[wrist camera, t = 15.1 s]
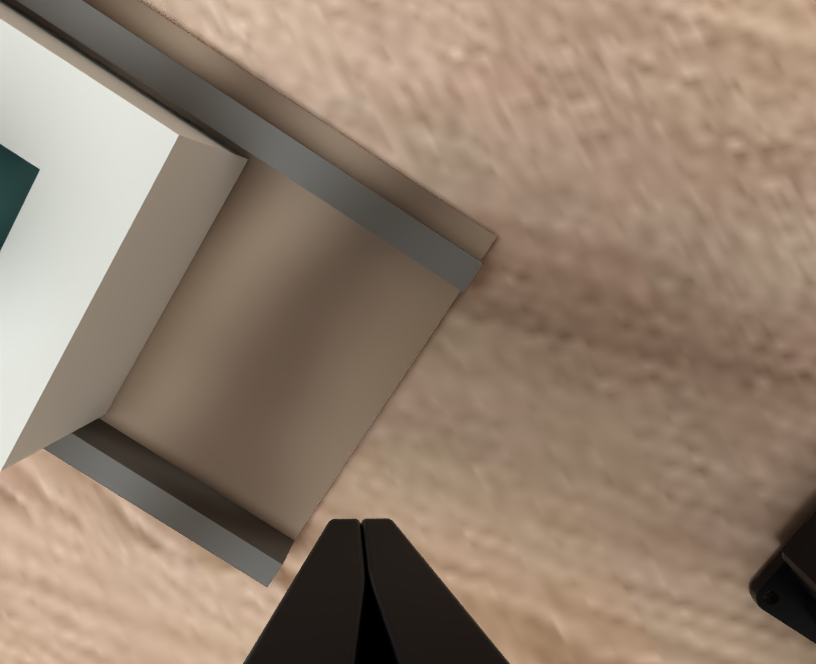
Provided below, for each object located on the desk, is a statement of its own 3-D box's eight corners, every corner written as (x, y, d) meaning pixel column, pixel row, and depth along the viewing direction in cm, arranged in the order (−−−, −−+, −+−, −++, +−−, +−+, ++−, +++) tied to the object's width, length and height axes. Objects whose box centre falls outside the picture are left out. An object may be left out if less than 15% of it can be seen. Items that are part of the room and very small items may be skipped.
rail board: (495, 236, 19) (520, 239, 12) (272, 571, 21) (196, 719, 15) (-45, -120, 18) (-321, -315, 12) (-208, 272, 21) (-507, 292, 14)
